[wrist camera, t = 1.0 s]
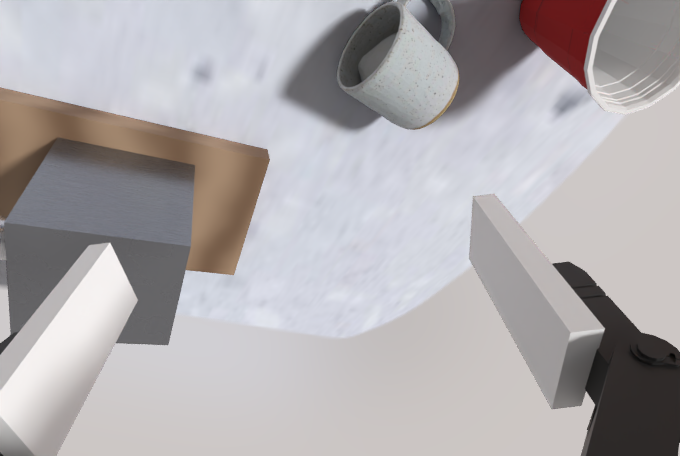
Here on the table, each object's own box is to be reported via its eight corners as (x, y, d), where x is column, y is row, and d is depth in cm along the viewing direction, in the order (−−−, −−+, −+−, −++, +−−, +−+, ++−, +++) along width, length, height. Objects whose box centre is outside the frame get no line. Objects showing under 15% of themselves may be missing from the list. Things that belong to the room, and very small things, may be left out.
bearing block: (56, 239, 37) (11, 339, 29) (58, 137, 32) (4, 222, 24) (176, 253, 41) (168, 345, 33) (195, 165, 36) (191, 246, 28)
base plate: (-176, 214, 33) (-195, 229, 32) (-235, 32, 26) (-263, 41, 25) (232, 262, 46) (233, 275, 44) (267, 149, 39) (269, 159, 37)
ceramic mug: (392, 116, 40) (424, 151, 34) (326, 71, 36) (349, 102, 30) (466, 18, 36) (515, 39, 30) (401, -45, 32) (444, -35, 26)
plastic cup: (622, 3, 39) (752, 36, 29) (523, 89, 42) (612, 143, 32) (586, -110, 32) (735, -113, 23) (472, 1, 35) (565, 37, 26)
